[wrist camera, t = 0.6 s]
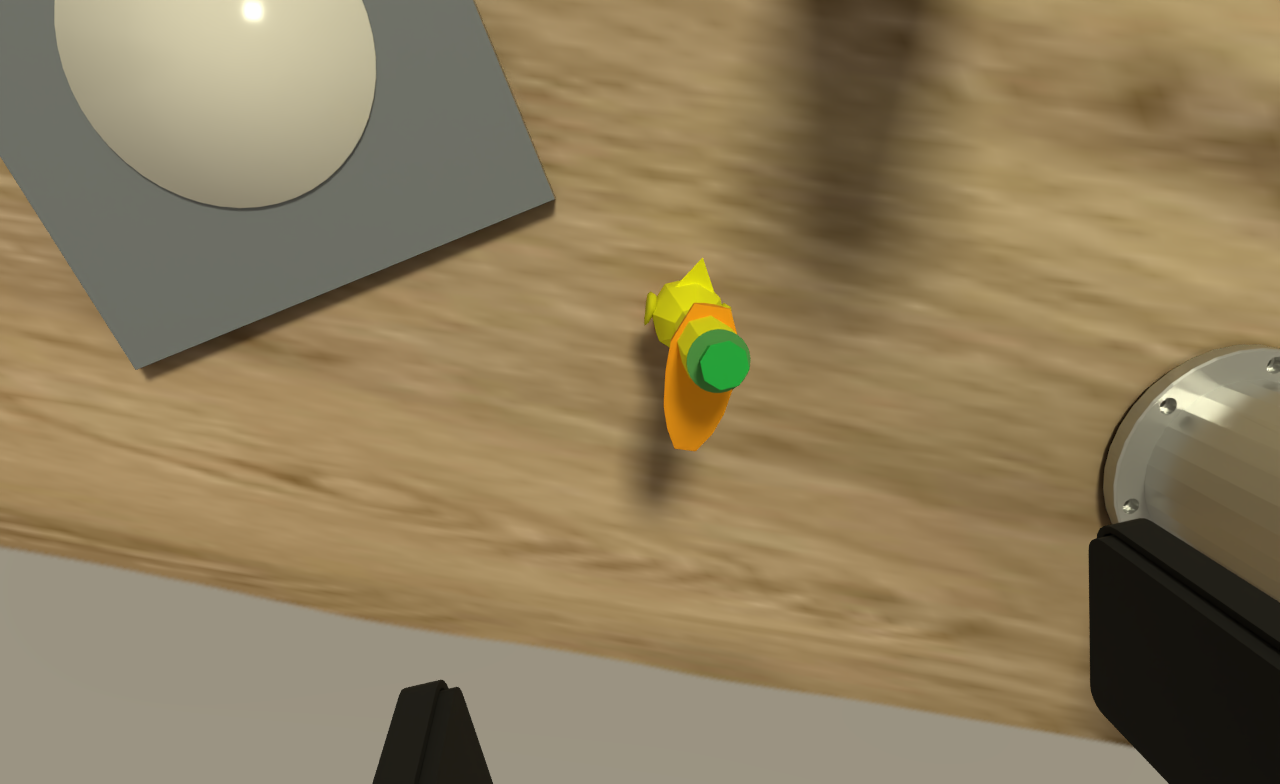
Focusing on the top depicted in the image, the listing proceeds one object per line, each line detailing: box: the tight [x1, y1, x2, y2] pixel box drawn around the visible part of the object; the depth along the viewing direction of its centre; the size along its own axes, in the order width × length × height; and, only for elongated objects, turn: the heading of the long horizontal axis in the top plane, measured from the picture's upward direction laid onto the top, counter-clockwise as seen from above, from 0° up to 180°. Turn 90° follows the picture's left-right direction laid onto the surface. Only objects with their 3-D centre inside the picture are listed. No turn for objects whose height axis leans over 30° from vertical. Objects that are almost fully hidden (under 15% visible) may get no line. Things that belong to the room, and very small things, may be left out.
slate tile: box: [0, 0, 556, 370], centre depth 30 cm, size 20×20×1 cm
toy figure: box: [644, 258, 750, 451], centre depth 30 cm, size 7×4×12 cm, turn 171°
